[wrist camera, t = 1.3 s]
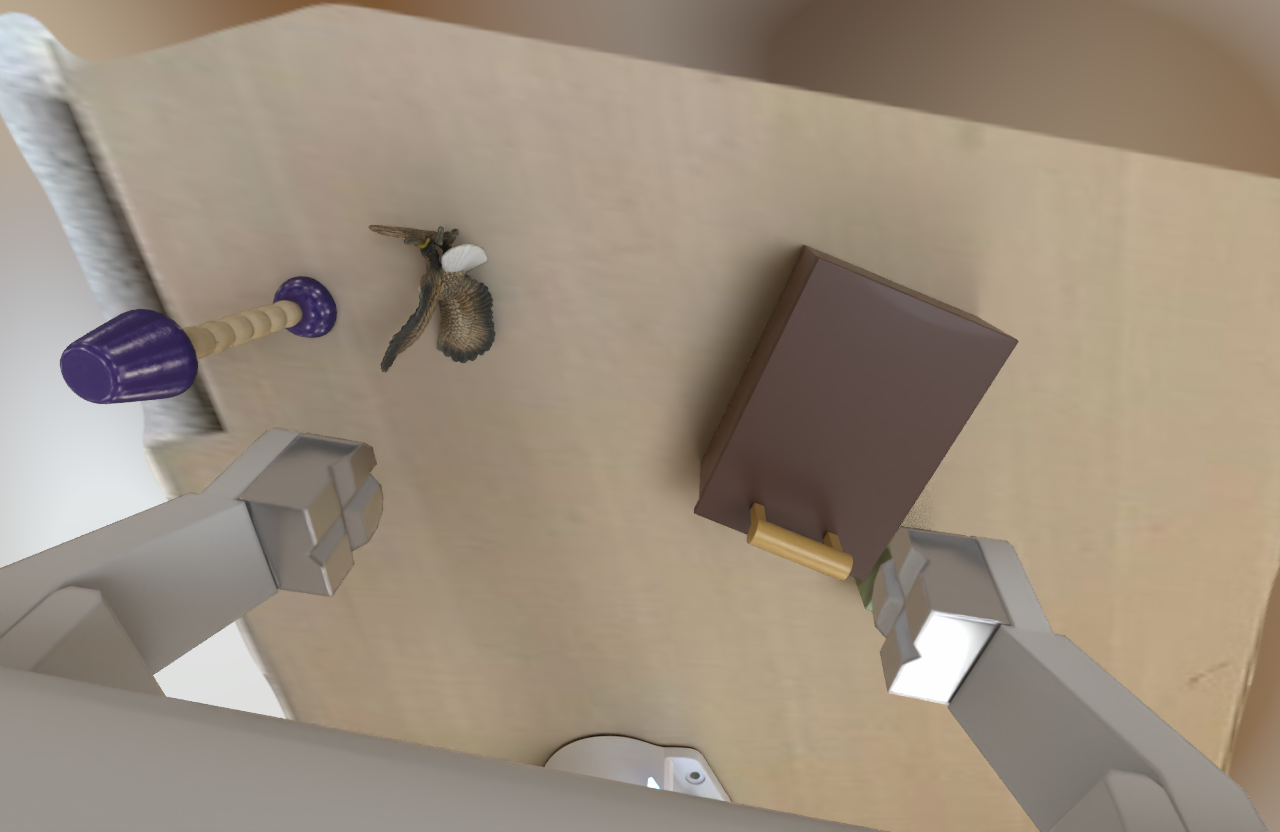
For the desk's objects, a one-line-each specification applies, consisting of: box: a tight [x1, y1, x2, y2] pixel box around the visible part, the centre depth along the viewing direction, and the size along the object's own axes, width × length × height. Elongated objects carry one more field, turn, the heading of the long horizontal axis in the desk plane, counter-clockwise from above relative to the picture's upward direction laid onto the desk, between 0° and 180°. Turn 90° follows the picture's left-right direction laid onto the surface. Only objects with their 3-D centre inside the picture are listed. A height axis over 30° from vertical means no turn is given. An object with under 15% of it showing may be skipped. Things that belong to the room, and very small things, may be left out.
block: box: [855, 539, 893, 612], centre depth 46 cm, size 4×4×4 cm
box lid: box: [694, 256, 1018, 581], centre depth 37 cm, size 17×12×4 cm
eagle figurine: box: [369, 225, 495, 373], centre depth 41 cm, size 8×7×9 cm
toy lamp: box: [60, 277, 337, 404], centre depth 37 cm, size 5×5×17 cm
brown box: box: [699, 245, 1011, 498], centre depth 41 cm, size 16×12×5 cm
